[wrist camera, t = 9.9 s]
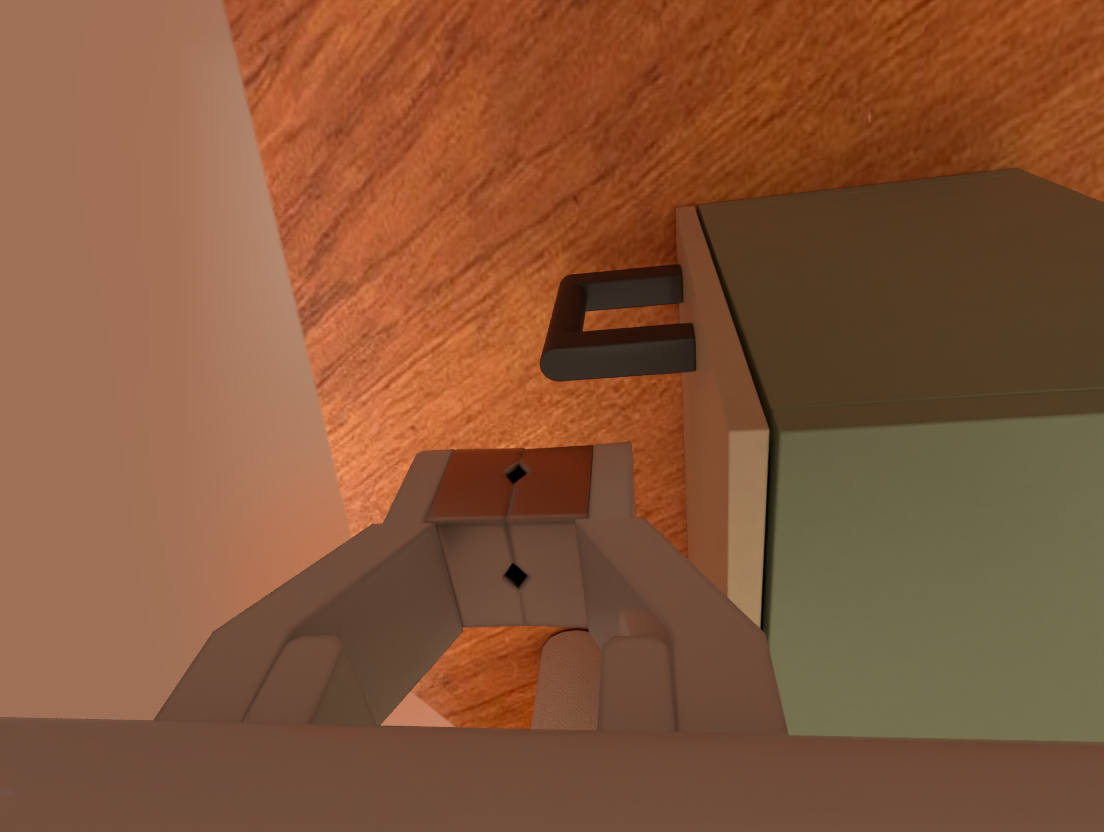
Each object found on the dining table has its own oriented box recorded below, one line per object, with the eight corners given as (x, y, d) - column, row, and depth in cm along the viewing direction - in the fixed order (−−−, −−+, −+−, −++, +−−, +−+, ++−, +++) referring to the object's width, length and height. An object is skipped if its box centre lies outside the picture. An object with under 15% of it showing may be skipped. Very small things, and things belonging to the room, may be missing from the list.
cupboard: (705, 567, 43) (754, 921, 26) (698, 204, 31) (780, 432, 14) (930, 561, 41) (1140, 943, 24) (1018, 167, 29) (1572, 386, 12)
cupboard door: (603, 571, 44) (588, 907, 28) (558, 220, 32) (481, 445, 15) (701, 568, 43) (747, 916, 27) (694, 205, 31) (770, 429, 14)
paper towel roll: (598, 618, 47) (578, 995, 29) (633, 668, 50) (636, 1043, 31) (514, 643, 49) (447, 1005, 31) (552, 689, 52) (511, 1049, 34)
